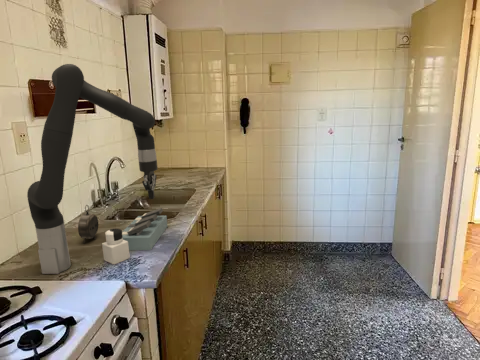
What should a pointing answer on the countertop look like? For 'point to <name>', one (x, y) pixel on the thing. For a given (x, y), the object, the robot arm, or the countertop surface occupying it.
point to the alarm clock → (88, 225)
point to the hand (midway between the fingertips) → (151, 198)
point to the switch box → (145, 234)
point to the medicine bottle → (115, 247)
